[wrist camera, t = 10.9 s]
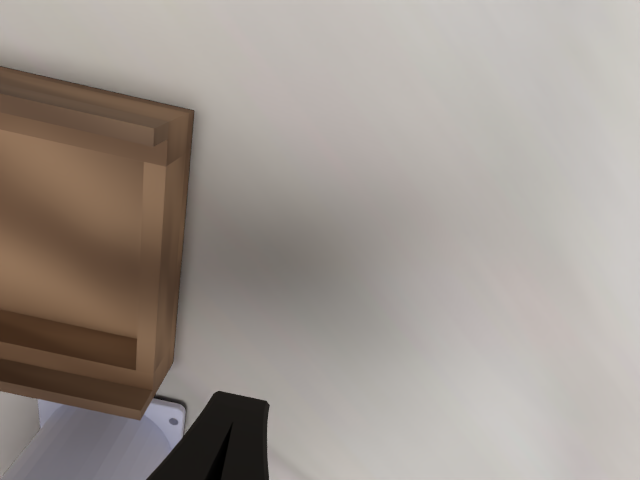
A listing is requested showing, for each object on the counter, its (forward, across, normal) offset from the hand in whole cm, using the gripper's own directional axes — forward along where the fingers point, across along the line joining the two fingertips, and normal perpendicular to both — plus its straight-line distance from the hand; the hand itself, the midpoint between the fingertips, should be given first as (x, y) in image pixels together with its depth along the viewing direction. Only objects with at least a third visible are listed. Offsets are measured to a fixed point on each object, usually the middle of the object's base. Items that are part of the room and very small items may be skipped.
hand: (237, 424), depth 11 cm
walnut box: (+9, +12, +1) cm, 15 cm away
